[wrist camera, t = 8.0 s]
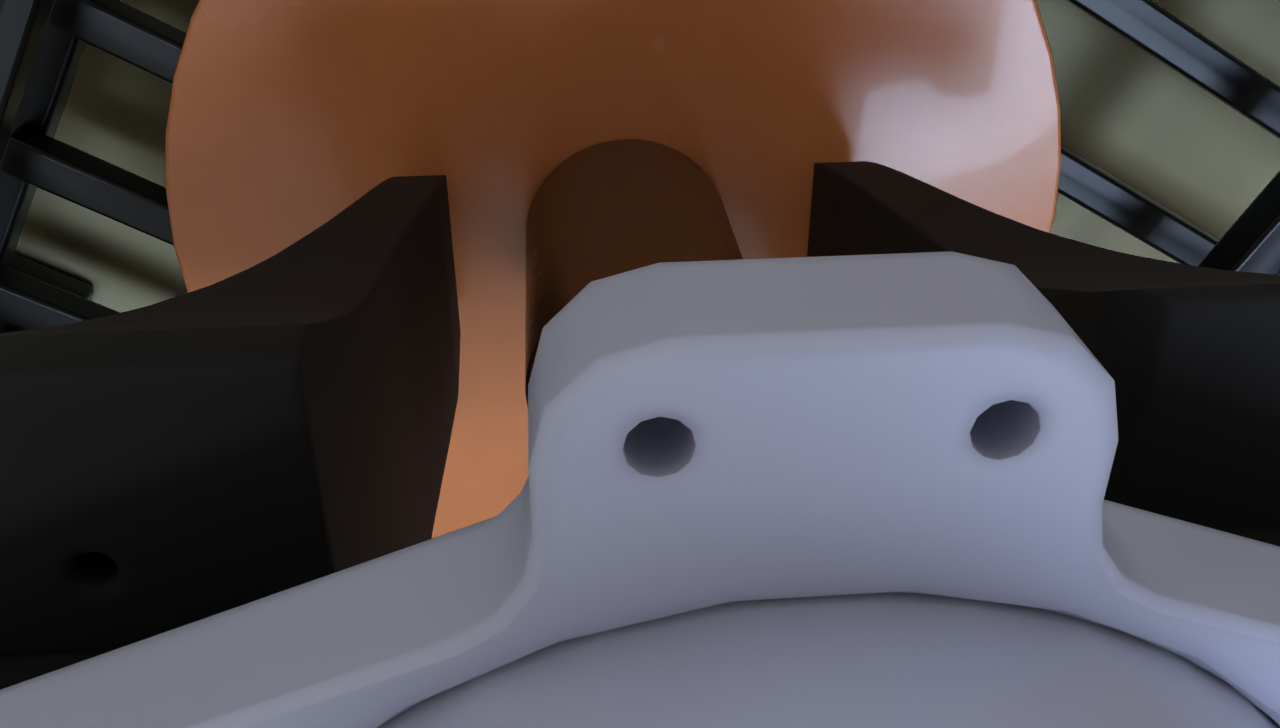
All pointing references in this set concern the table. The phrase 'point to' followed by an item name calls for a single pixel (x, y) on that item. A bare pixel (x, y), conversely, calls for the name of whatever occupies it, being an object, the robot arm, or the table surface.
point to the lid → (587, 146)
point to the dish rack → (91, 13)
